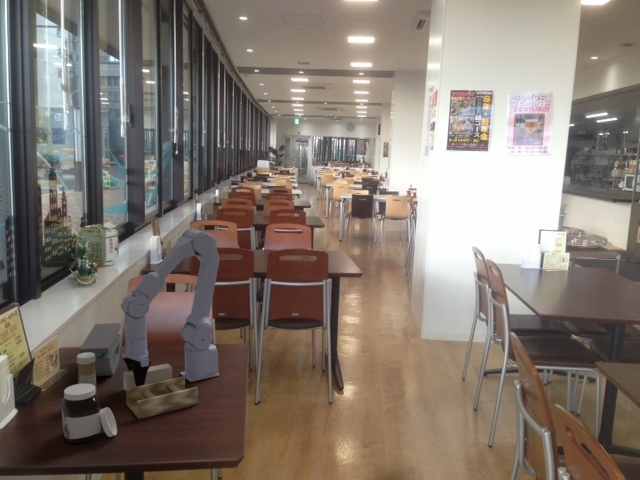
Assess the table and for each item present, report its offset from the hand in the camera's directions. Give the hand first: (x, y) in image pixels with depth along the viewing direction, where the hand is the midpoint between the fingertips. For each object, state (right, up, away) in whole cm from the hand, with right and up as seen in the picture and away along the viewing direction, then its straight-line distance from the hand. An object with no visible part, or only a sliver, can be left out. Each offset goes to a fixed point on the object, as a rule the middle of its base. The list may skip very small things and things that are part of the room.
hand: (137, 383), depth 166 cm
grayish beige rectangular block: (+2, -1, +2) cm, 3 cm away
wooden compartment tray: (+10, -3, -10) cm, 14 cm away
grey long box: (-15, 0, +15) cm, 21 cm away
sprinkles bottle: (-10, -3, -9) cm, 14 cm away
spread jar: (-3, -6, -27) cm, 28 cm away
